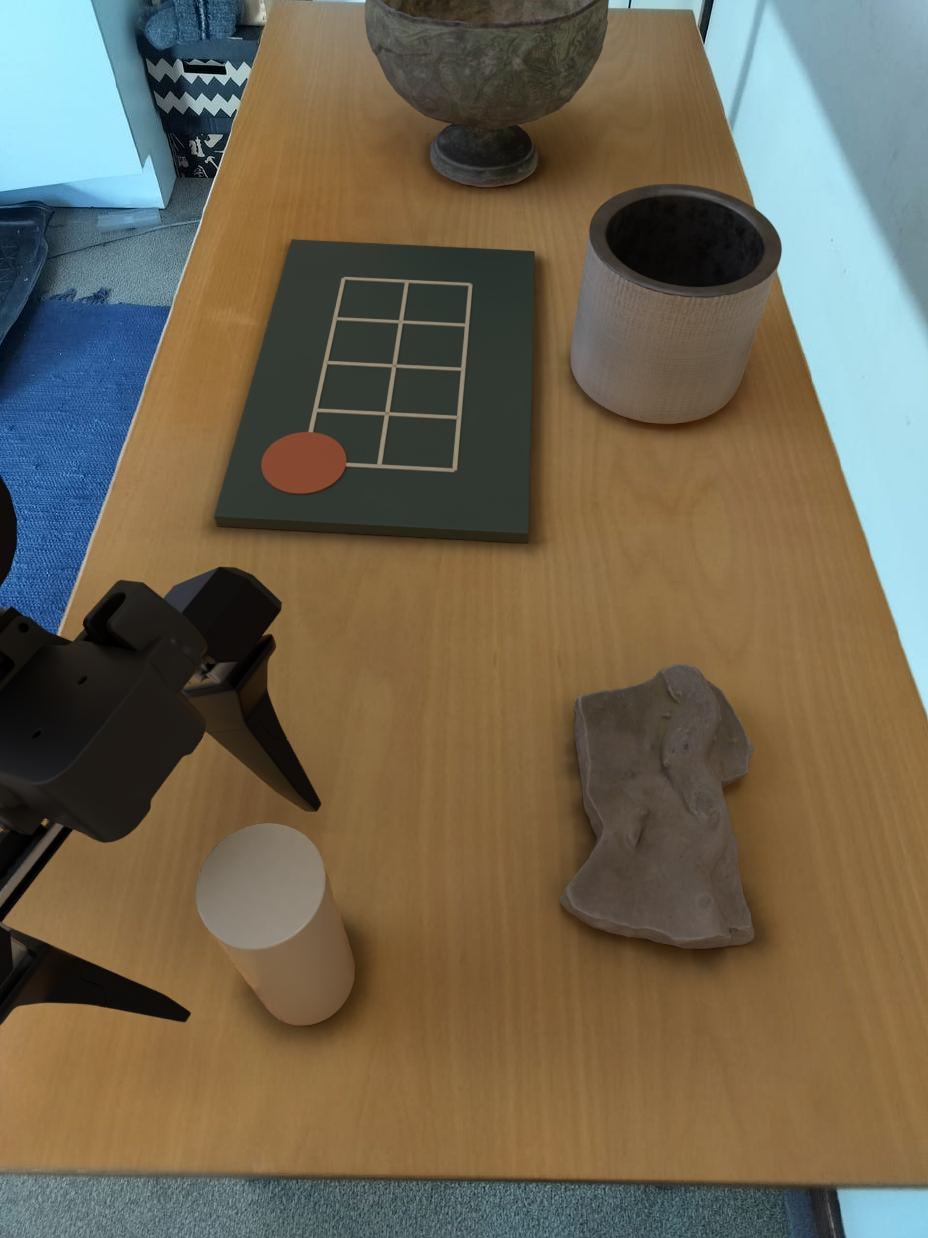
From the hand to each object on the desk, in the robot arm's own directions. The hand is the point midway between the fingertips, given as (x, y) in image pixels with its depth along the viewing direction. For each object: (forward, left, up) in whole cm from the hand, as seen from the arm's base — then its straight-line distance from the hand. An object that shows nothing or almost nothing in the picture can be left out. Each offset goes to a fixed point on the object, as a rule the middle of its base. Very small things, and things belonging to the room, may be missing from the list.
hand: (253, 905), depth 36 cm
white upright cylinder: (+1, 0, -9) cm, 9 cm away
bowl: (+6, +73, -9) cm, 73 cm away
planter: (+20, +44, -9) cm, 49 cm away
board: (+1, +42, -9) cm, 42 cm away
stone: (+18, +9, -9) cm, 22 cm away
